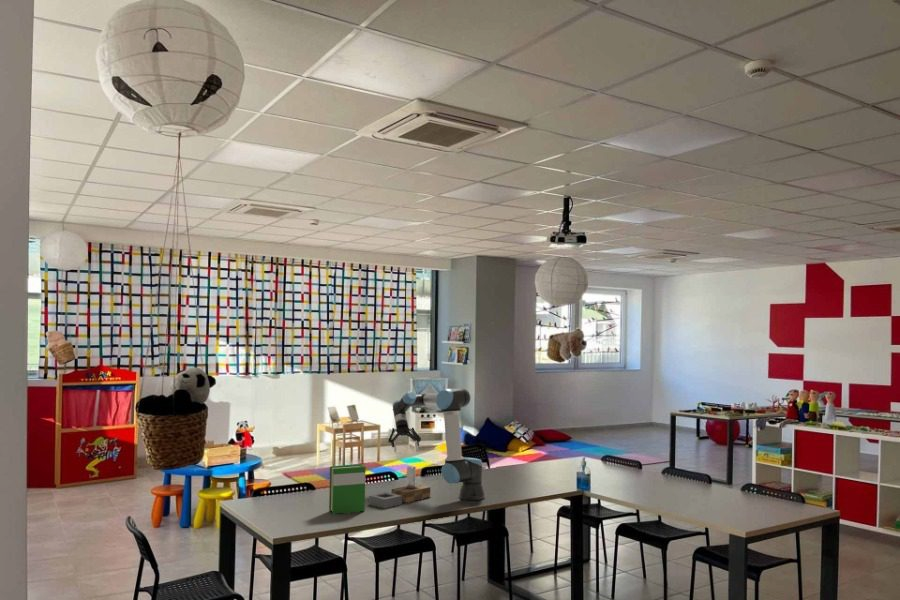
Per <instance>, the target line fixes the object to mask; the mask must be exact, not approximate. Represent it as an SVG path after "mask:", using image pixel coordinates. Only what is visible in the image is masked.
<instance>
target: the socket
mask: <svg viewBox="0 0 900 600" xmlns="http://www.w3.org/2000/svg"><path fill="white" fill-rule="evenodd" d="M368 497H369V498H368V505H369V506H372V505H373V506H372V507H376V506H377V508H380V507H381V508H380V509H384V508H385V509H388V507H390V508H394V507H397V505H398V506H402V505H401V504H402V503H403V502H402V496H401V495H396V494H392V492H388V491H385V492H380V493H377V494H370V495H368ZM393 506H394V507H393Z"/></svg>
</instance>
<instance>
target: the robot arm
mask: <svg viewBox="0 0 900 600" xmlns="http://www.w3.org/2000/svg"><path fill="white" fill-rule="evenodd" d="M470 402H471V394H470V392H469V391H468V390H467V389H465V388H463V387H456V388H452V387H451V388H443V389H441V390H440V391H439V392H436V393H435V392H434V393H433V392H432V393H420V394H415V393H414V392H412V391H407V392H406V393H405V394H404V395H402V397H401V398H400V400H395V401H394V402H393V403H392V411H393V416H394V422H395V428H394V427H392V429H391V433H390V436H389V438H388V443H390V444H391V447H392V448H393V451H394V453H397V443H396V440H397V439H398V438H399V437H400V436H401V437H403V436H407V437H409V438H410V439H411V440H412V441H414V446H415V451H416V452H419V446H420V442H421V441H422V438H421V436H420V435H419V434H418V433H417V432H416V430H415V428H414V427H412V428H409V424H408V423H409V422H408V417H407V411H408V410H409V409H410V408H411V407H414V408H415V407H425V406H427V407H428V406H437V408H438V409H440V412H441V413H440V414H442V415H443V419H444V420H443V421H444V432H445V433H444V435H445V442H446V443H445V445H446V458H445V459H444V464H442V467H441V470H440V471H441V477H442V478H443V480H444V481H445V482H446V483H448V484H451V485H452V484H458V483H462V484H461V487H460V492H459V495H458V496H459V497H458V498H459V499H461V500H465V501H480V500H484V499H485V498H486V494H485V492H484V487H483V461H482V460H481V459H479V458H475V457H464V456H463V452H462V441H461V430H460V429H461V427H460V417H459V416H460V415H459V413H461V412H462V409H461V408H465V407H467V406H468V405H469V404H470ZM395 433H396V435H394V434H395ZM393 436H394V437H393Z"/></svg>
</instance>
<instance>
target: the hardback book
mask: <svg viewBox="0 0 900 600" xmlns="http://www.w3.org/2000/svg"><path fill="white" fill-rule="evenodd" d="M328 500H329V503H328V504H329V505H328V507H329V509H328V512H329V511H332V512H331V515H332V514H336V515H338V514H337V513H346V514H350V513H349V512H356V513H361V512H360V511H365V512H366V507H365V506H366V466H365V465H363V464H345V465H334V466H329V499H328Z"/></svg>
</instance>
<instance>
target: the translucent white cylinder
mask: <svg viewBox="0 0 900 600" xmlns="http://www.w3.org/2000/svg"><path fill="white" fill-rule="evenodd" d="M416 470H417V469H416V466H407V468H406V486H407V489H410V490H412V489H415V484H416Z"/></svg>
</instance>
